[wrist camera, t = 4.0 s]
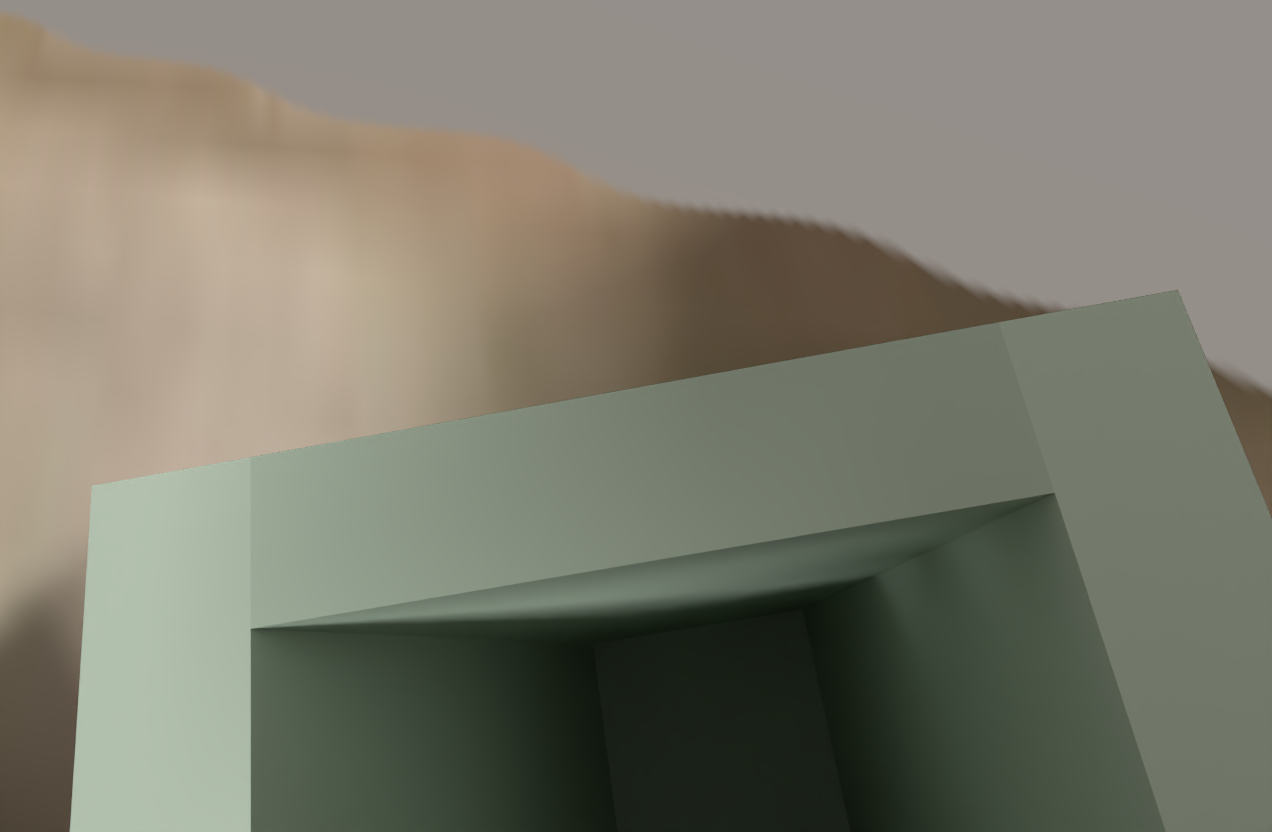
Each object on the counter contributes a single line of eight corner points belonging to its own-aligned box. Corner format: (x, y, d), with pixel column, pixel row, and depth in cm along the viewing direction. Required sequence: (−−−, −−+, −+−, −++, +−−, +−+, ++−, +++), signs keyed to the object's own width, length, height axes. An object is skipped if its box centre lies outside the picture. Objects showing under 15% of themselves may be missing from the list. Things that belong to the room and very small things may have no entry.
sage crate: (909, 885, 14) (1946, 2156, 2) (587, 931, 14) (-25, 2271, 2) (833, 558, 15) (1178, 289, 4) (549, 605, 16) (92, 485, 4)
